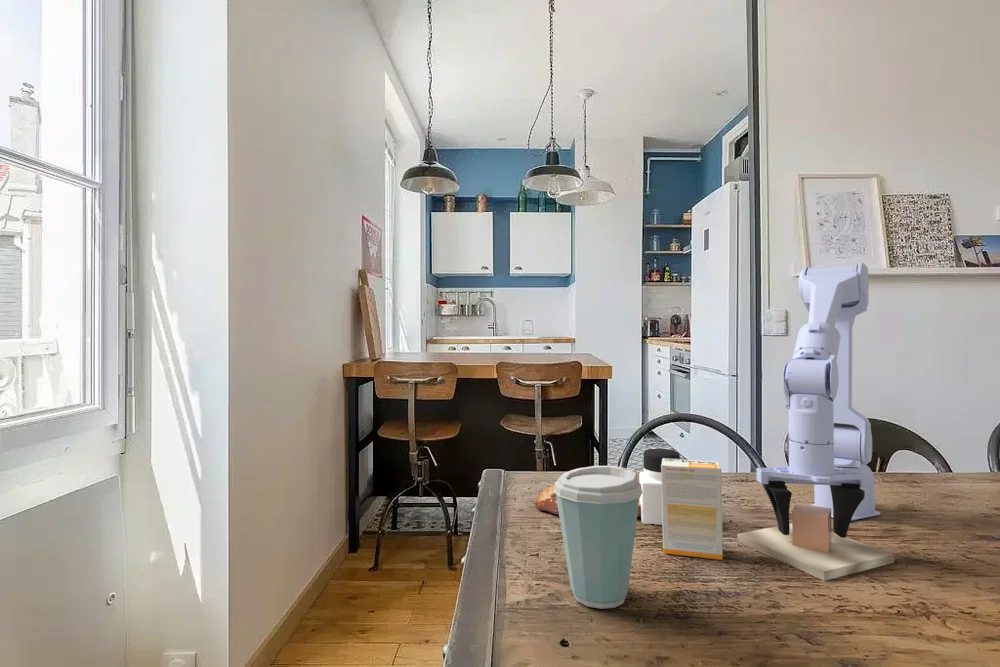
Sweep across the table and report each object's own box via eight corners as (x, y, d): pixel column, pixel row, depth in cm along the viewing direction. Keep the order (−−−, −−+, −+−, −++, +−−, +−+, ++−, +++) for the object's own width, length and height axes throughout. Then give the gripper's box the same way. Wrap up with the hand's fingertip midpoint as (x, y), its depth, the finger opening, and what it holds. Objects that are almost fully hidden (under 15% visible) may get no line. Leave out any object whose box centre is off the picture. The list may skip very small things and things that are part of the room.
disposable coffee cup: (584, 627, 57) (584, 489, 57) (538, 584, 66) (537, 466, 67) (662, 607, 61) (661, 478, 61) (608, 569, 71) (607, 458, 71)
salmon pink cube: (792, 545, 76) (792, 510, 76) (797, 535, 79) (797, 502, 79) (828, 552, 73) (827, 516, 73) (831, 542, 77) (831, 508, 77)
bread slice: (665, 508, 94) (665, 487, 94) (597, 532, 83) (596, 509, 83) (591, 487, 108) (591, 469, 109) (525, 506, 98) (525, 486, 98)
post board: (801, 528, 85) (801, 503, 85) (893, 562, 72) (893, 532, 72) (737, 541, 80) (737, 514, 80) (824, 580, 67) (824, 548, 67)
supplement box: (720, 548, 78) (719, 460, 78) (723, 561, 73) (722, 468, 73) (662, 541, 80) (662, 456, 80) (661, 554, 76) (660, 463, 76)
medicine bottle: (686, 527, 86) (686, 454, 86) (641, 524, 88) (641, 453, 88) (680, 513, 93) (680, 446, 93) (639, 510, 95) (639, 444, 95)
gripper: (768, 445, 73) (769, 541, 73) (880, 447, 71) (881, 547, 71) (751, 435, 80) (752, 524, 80) (853, 438, 78) (854, 528, 78)
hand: (811, 533), depth 76 cm, fingers open, 7 cm apart
